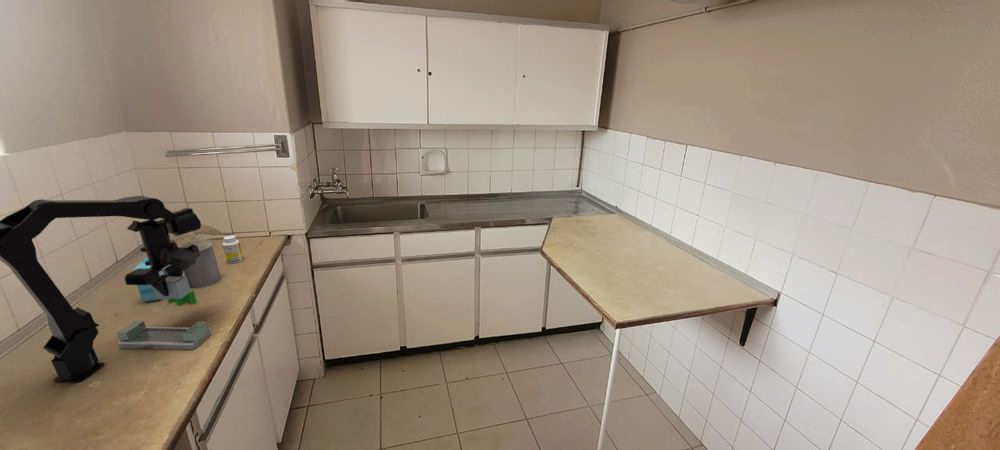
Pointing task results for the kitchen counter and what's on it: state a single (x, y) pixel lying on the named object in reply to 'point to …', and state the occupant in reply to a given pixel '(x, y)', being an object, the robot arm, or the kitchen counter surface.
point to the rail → (162, 336)
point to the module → (174, 288)
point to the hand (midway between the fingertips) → (172, 292)
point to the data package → (146, 290)
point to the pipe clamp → (185, 299)
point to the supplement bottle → (232, 249)
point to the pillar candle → (203, 266)
